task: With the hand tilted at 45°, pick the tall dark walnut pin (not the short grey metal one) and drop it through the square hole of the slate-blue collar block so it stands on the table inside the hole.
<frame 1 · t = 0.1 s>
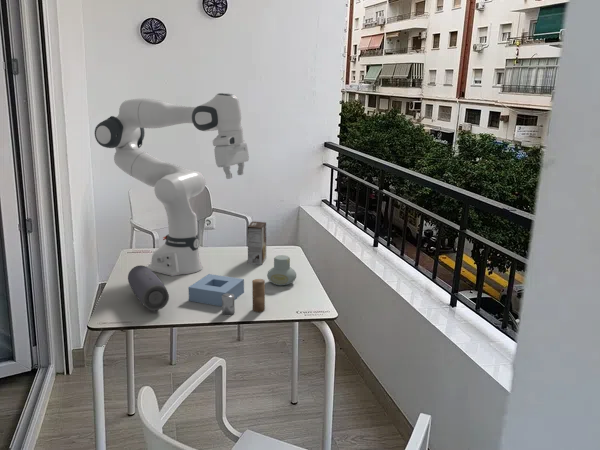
hand: (235, 176, 190), 39 cm above the table, tool pointing down, fingers open, 8 cm apart
short pin: (228, 313, 166), on the table
long pin: (258, 309, 169), on the table
bluetooth speaker: (148, 302, 174), on the table
coffee box: (257, 261, 218), on the table
air freshener: (281, 283, 194), on the table
collar block: (217, 296, 179), on the table
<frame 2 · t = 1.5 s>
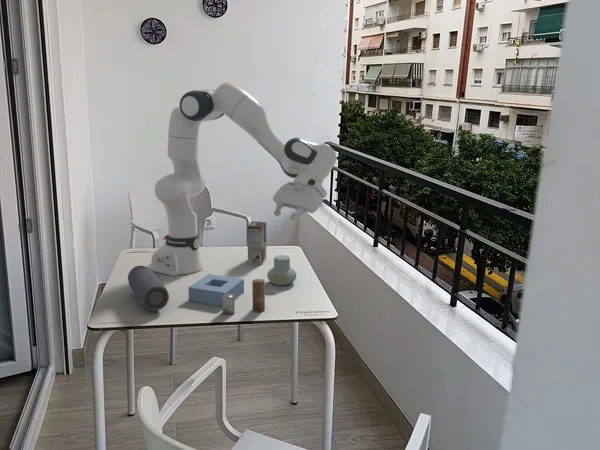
hand: (284, 217, 173), 29 cm above the table, tool tilted 45°, fingers open, 8 cm apart
nothing on the table moved.
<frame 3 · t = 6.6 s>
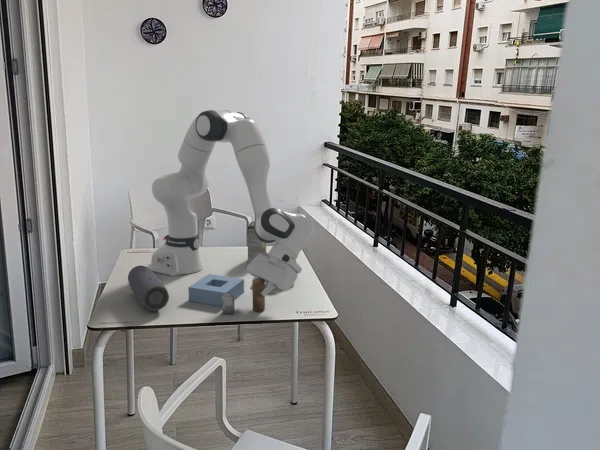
hand: (257, 292, 167), 6 cm above the table, tool tilted 45°, fingers closed on long pin, 4 cm apart
long pin: (258, 309, 169), on the table, touching gripper
everything else where it was.
when the fingers open (9 cm above the table, at t = 12.7 s): long pin drops 2 cm, resting in collar block.
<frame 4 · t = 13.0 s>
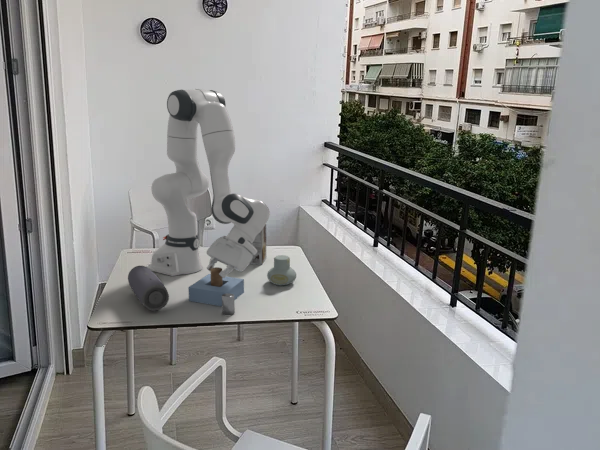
hand: (214, 273, 177), 9 cm above the table, tool tilted 45°, fingers open, 7 cm apart
long pin: (216, 296, 179), resting in collar block
everything else where it was.
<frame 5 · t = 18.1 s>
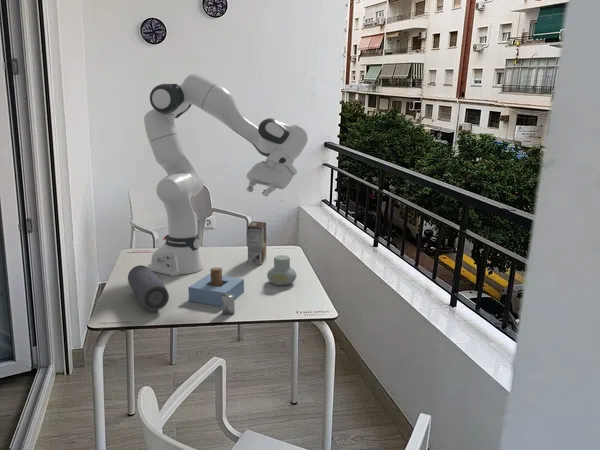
hand: (256, 193, 183), 34 cm above the table, tool tilted 45°, fingers open, 8 cm apart
nothing on the table moved.
at the end: long pin 0.1 cm off-centre on the collar block, point 0.0 cm above the collar block's base; long pin tilted 0°; the gripper is holding nothing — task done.
